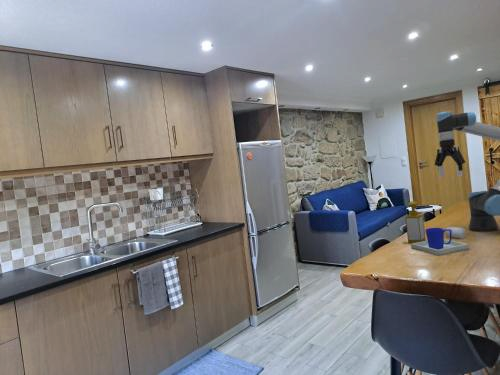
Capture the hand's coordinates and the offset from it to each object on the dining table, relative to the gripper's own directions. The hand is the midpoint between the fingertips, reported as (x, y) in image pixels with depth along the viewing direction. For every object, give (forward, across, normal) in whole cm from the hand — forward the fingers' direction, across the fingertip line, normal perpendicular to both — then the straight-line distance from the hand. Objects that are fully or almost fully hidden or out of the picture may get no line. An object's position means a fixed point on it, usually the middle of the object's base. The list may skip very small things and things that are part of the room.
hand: (450, 177), depth 206 cm
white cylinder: (+32, +4, 0) cm, 32 cm away
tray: (+35, +14, -24) cm, 44 cm away
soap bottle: (+35, -7, -20) cm, 41 cm away
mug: (+34, +15, -24) cm, 44 cm away
